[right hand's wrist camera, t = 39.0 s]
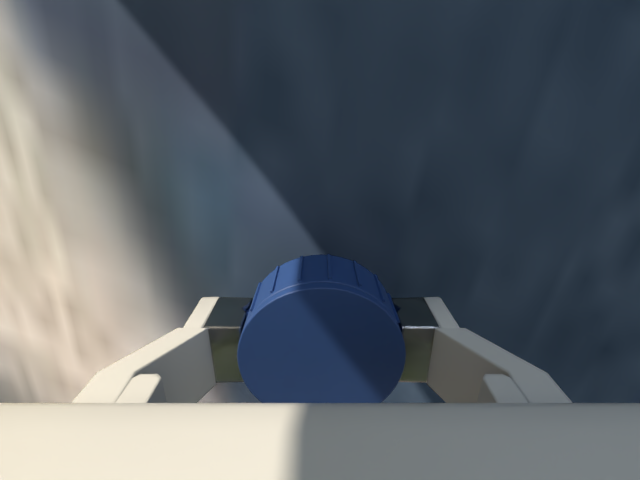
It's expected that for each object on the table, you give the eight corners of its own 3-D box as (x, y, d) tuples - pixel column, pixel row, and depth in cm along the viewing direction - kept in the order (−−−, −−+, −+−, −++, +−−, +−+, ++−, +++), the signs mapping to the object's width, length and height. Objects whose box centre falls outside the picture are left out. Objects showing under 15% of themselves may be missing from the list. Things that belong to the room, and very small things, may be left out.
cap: (274, 385, 11) (266, 436, 9) (228, 271, 10) (209, 308, 8) (403, 358, 11) (419, 408, 9) (377, 236, 9) (390, 267, 8)
